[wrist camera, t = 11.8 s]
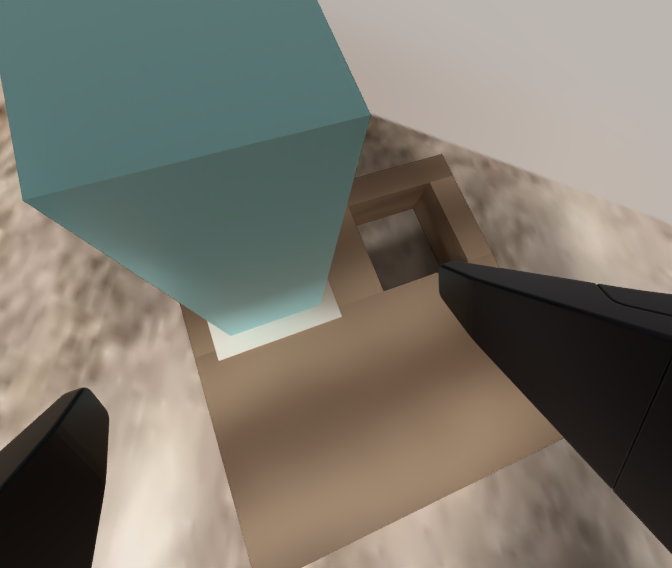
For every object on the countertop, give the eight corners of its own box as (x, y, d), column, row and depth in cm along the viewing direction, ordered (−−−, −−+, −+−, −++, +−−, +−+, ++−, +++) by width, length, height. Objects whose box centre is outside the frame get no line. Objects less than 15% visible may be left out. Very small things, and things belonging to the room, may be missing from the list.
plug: (320, 304, 17) (371, 115, 5) (230, 336, 16) (21, 199, 4) (290, 225, 18) (272, -97, 6) (205, 251, 17) (-24, -62, 5)
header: (539, 422, 19) (585, 429, 16) (264, 552, 16) (256, 592, 13) (424, 182, 23) (443, 151, 20) (180, 253, 20) (158, 230, 17)
